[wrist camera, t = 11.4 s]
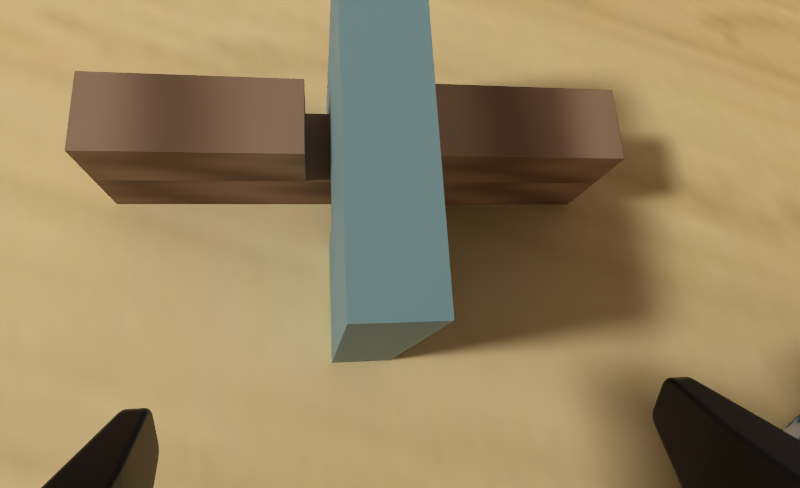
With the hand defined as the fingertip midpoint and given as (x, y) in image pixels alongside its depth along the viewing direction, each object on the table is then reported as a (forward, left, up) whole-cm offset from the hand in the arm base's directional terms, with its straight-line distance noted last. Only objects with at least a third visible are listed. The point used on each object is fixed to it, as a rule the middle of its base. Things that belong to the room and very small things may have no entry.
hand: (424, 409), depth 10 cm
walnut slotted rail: (+8, -7, -13) cm, 17 cm away
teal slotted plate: (+6, -5, -13) cm, 15 cm away
